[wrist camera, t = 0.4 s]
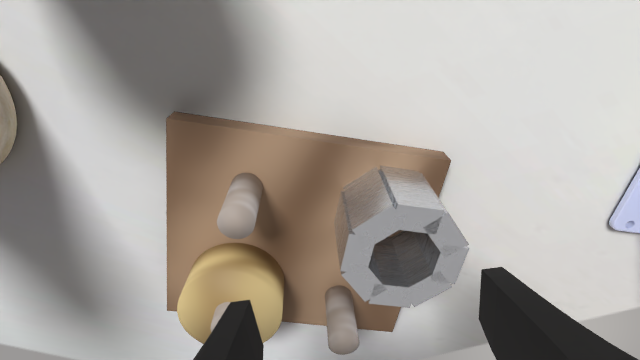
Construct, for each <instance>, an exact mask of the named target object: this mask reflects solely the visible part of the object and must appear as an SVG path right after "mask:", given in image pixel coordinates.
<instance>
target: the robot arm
mask: <svg viewBox="0 0 640 360" xmlns="http://www.w3.org/2000/svg"><path fill="white" fill-rule="evenodd" d="M627 222H628V223H627ZM626 223H627V224H626ZM609 225H610V226H611V227H612V228H613V229H615V230H618V231H625V232H633V233H640V168H639V170H638V172H637V174H636V175H635V177H634V179H633V181H632V182H631V184H630V186H629V187H628V189H627V191H626V193H625V194H624V196H623V198H622V200H621V201H620V203H619V205H618V206H617V208H616V210H615V212H614V213H613V215H612V217H611V219H610V221H609ZM479 320H480V323H481V325H482V328H483V330H484V333H485V336H486V338H487V340H488V343H489V345H490V347H491V350H492V352H493V353H494V355H495V357H496V359H497V360H638V359H636V358H634V357H633V356H631V355H629V354H627V353H626V352H624V351H622V350H620V349H619V348H617V347H616V346H614V345H612V344H611V343H608V342H607V341H606V340H604V339H603V338H601V337H599V336H598V335H596V334H595V333H593V332H592V331H590V330H589V329H587V328H585V327H584V326H582V325H581V324H579V323H578V322H576V321H575V320H574V319H572V318H571V317H569V316H568V315H566V314H565V313H563V312H562V311H561V310H559V309H558V308H556V307H555V306H554V305H552V304H551V303H549V302H548V301H547V300H545V299H544V298H542V297H541V296H540V295H538V294H537V293H536V292H534V291H533V290H532V289H530V288H529V287H528V286H526V285H525V284H524V283H522V282H521V281H520V280H519V279H517V278H516V277H515V276H513V275H512V274H511V273H509V272H508V271H507V270H505V269H504V268H502V267H498V268H490V269H482V272H481V290H480V308H479ZM193 360H263V343H262V339H261V336H260V332H259V329H258V325H257V322H256V319H255V315H254V312H253V308H252V305H251V301H250V300H243V301H236V302H231V303H230V304H229V305H228V307H227V308H226V310H225V311H224V313H223V315H222V316H221V318H220V320H219V321H218V323H217V324H216V326H215V328H214V329H213V331H212V332H211V334H210V335H209V337H208V339H207V340H206V342H205V343H204V345H203V346H202V348H201V349H200V351H199V352H198V353H197V355H196V356H195V358H194V359H193Z"/></svg>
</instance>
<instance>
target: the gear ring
mask: <svg viewBox="0 0 640 360" xmlns="http://www.w3.org/2000/svg"><path fill="white" fill-rule="evenodd" d="M343 189H344V191H341V192H340V197H339V202H338V206H337V211H336V216H335V220H334V228H335V235H336V243H337V251H338V258H339V266H340V271H341V275H342V276H343V277H344V279H345V280H346V281H347V282H348V283H349V284H350V285H351V287H352V288H353V289H354V290H355V291H356V292H357V293H358V294H359V296H360V297H361V298H362V299H363V300H364V301H365V302H366V301H367V300H368V302H369V304H377V305H387V306H397V307H407V308H410V306H411V304H412V305H413V306H414V307H415V306H417V305H419V304H421V303H423V302H424V301H426V300H428V299H430V298H432V297H434V296H436V295H438V294H440V293H442V292H443V291H445V290H447V289H449V288H451V287H452V286H451V284H450V283H452V284H455V282H456V280H457V278H458V275H459V273H460V270H461V268H462V265H463V263H464V260H465V258H466V255H467V253H468V251H469V247H468V246H467V245H469V244H468V242H467V241H466V239H465V238H464V236H463V234H462V233H461V231H460V230H459V228H458V227H457V225H456V224H455V222H454V221H453V219H452V218H451V216H450V215H449V213H448V211H447V210H446V209H445V207H444V206H443V204H442V203H441V201H440V200H439V198H438V197H437V195H436V194H435V192H434V191H433V189H432V188H431V186H430V185H429V183H428V182H427V180H426V179H425V177H424V176H423V174H422V173H419V171H416V170H409V169H402V168H395V167H388V166H381V165H380V169H379V170H378V168H377V167H374V168H373V169H371V170H370V171H368V172H366V173H365V174H363V175H362V176H360V177H359V178H357V179H355V180H354V181H352V182H351V183H349V184H348V185H346V186H345V187H343ZM398 230H404V231H402V232H400V233H399V234H397V235H395V236H393V237H392V238H387V237H388V236H390V235H392V234H393V233H395V232H397V231H398Z"/></svg>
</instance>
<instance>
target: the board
mask: <svg viewBox="0 0 640 360" xmlns="http://www.w3.org/2000/svg"><path fill="white" fill-rule="evenodd" d="M166 162H167V311H177V313H178V317H179V320H180V322H181V324H182V326H183V328H184V329H185V330H186V331H187V332H188V333H189V334H190V335H191V336H192V337H193V338H195V339H196V340H198V341H199V342H201V343H203V344H204V343H205V342H206V340H207V339H208V337H209V335H210V334H211V332H212V331H213V329H214V328H215V326H216V324H217V323H218V321H219V320H220V318H221V316H222V315H223V313H224V311H225V310H226V308H227V307H228V305H229V304H230V303H231V302H236V301H243V300H250V301H251V305H252V308H253V312H254V315H255V319H256V322H257V325H258V329H259V332H260V336H261V339H262V343H264V342H265V341H267V340H268V339H270V338H271V337H272V336H273V335H274V334H275V333H276V331H277V330H278V328H279V326H280V324H281V321H282V322H293V323H303V324H314V325H324V326H327V332H328V346H329V348H330V350H331V351H332V352H334V353H336V354H341V355H345V354H349V353H352V352H354V351H355V350H356V349H357V348H358V346H359V338H358V332H357V329H366V330H376V331H387V332H393V329H394V326H395V323H396V320H397V317H398V314H399V311H400V308H401V307H397V306H387V305H377V304H369V302H368V300H367V301H366V302H365V301H364V300H363V299H362V298H361V297H360V296H359V294H358V293H357V292H356V291H355V290H354V289H353V288H352V287H351V285H350V284H349V283H348V282H347V281H346V280H345V279H344V277H343V276H342V275H341V271H340V266H339V258H338V251H337V243H336V235H335V228H334V220H335V216H336V211H337V206H338V202H339V197H340V192H341V191H344V189H343V187H345V186H346V185H348V184H349V183H351V182H352V181H354V180H355V179H357V178H359V177H360V176H362V175H363V174H365V173H366V172H368V171H370V170H371V169H373V168H374V167H377V168H378V170H379V169H380V165H381V166H388V167H395V168H402V169H409V170H416V171H419V173H422V174H423V176H424V177H425V179H426V180H427V182H428V183H429V185H430V186H431V188H432V189H433V191H434V192H435V194H436V195H437V197H439V194H440V191H441V189H442V186H443V183H444V180H445V177H446V174H447V171H448V168H449V165H450V162H451V160H450V159H449V158H448V157H447V155H446V154H445V153H444V152H441V151H434V150H427V149H421V148H414V147H407V146H401V145H394V144H387V143H381V142H374V141H367V140H361V139H354V138H347V137H341V136H334V135H327V134H320V133H314V132H307V131H300V130H294V129H287V128H280V127H274V126H267V125H260V124H254V123H247V122H240V121H234V120H227V119H220V118H214V117H207V116H200V115H194V114H187V113H180V112H173V113H172V114H171V115H170V116H169V117H168V118H166ZM402 231H404V230H398V231H397V232H395V233H393V234H392V235H390V236H388V237H387V238H392V237H393V236H395V235H397V234H399V233H400V232H402Z"/></svg>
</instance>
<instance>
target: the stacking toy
mask: <svg viewBox="0 0 640 360" xmlns="http://www.w3.org/2000/svg"><path fill="white" fill-rule="evenodd" d="M16 131H17V117H16V111H15V107H14V103H13V100H12V97H11V94H10V92H9V90H8V88H7V86H6V84H5V82H4V80H3V78H2V77H1V75H0V164H1V163H2V162H3V161H4V160H5V158H6V157H7V156H8V154H9V153H10V151H11V149H12V147H13V144H14V141H15V137H16Z"/></svg>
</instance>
